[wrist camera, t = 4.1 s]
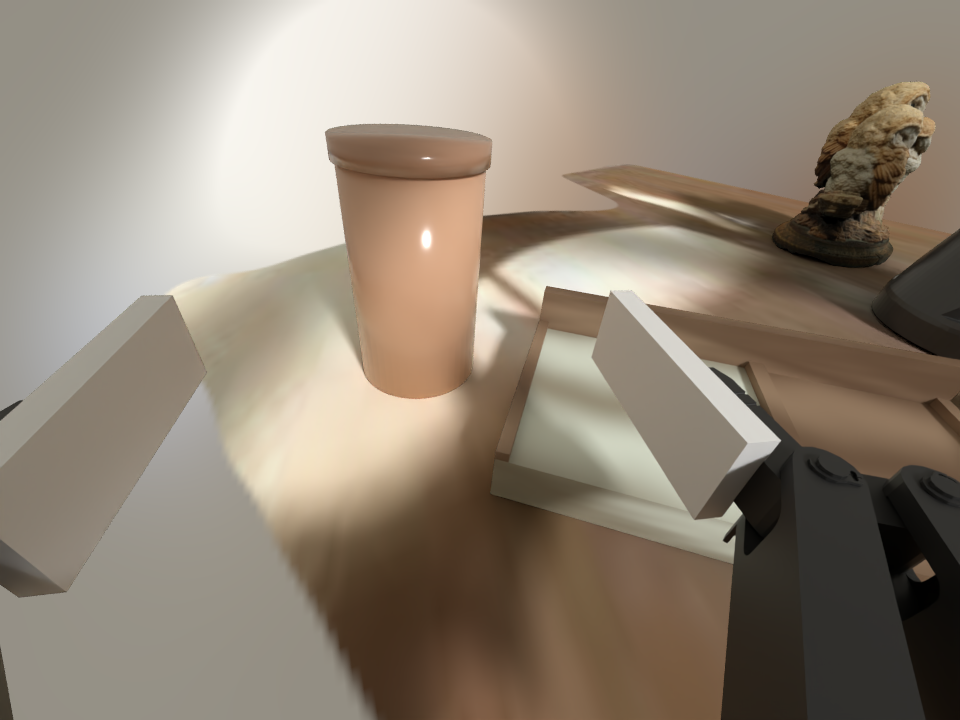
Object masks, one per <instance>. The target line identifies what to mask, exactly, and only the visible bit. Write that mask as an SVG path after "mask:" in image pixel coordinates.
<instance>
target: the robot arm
mask: <svg viewBox="0 0 960 720" xmlns="http://www.w3.org/2000/svg"><path fill="white" fill-rule="evenodd" d="M872 309H873V312H874V313H875V315H876V316H877V317H878V318H879V319H880V320H881V321H882V322H883V323H884V324H885V325H887V326H888V327H889V328H891V329H892V330H893V331H895V332H896V333H898V334H899V335H901V336H903V337H904V338H906V339H908V340H909V341H911V342H913V343H915V344H917V345H918V346H920V347H922V348H924V349H926V350H928V351H930V352H932V353H934V354H937V355H939V356H941V357H946V358H951V359H957V360H960V229H959V230H957V231H956V232H955V233H953V234H952V235H951V236H949V237H948V238H946V239H945V240H944V241H942V242H941V243H940V244H938V245H937V246H936V247H934V248H933V249H932V250H930V251H929V252H928V253H926V254H925V255H924V256H922V257H921V258H920V259H918V260H917V261H916V262H915V263H913V264H912V265H911V266H909V267H908V268H907V269H906V270H904V271H903V272H902V273H901V274H899V275H897V276H895V277H894V278H892V279H891V280H890V281H889V282H888V283H887V284H886V285H885V287H884V288H883V289H882V291H881V292H880V293H879V295H878V296H877V297H876V299H875V300H874V301H873V303H872ZM591 358H592V359H593V361H594V362H595V364H596V366H597V367H598V369H599V370H600V372H601V374H602V375H603V377H604V378H605V380H606V381H607V383H608V385H609V386H610V388H611V389H612V391H613V393H614V394H615V396H616V397H617V399H618V400H619V402H620V404H621V405H622V407H623V408H624V410H625V412H626V413H627V415H628V416H629V418H630V420H631V421H632V423H633V424H634V426H635V427H636V429H637V431H638V432H639V434H640V435H641V437H642V439H643V440H644V442H645V443H646V445H647V447H648V448H649V450H650V451H651V453H652V454H653V456H654V458H655V459H656V461H657V462H658V464H659V466H660V467H661V469H662V470H663V472H664V473H665V475H666V477H667V478H668V480H669V481H670V483H671V485H672V486H673V488H674V489H675V491H676V493H677V494H678V496H679V497H680V499H681V500H682V502H683V504H684V505H685V507H686V508H687V510H688V512H689V513H690V515H691V516H692V518H693V520H700V519H709V518H717V517H722V516H723V515H724V514H725V513H726V511H727V510H728V509H729V507H730V506H731V505H732V503H733V502H734V503H735V504H736V505H737V507H738V508H739V509H740V511H741V512H742V513H743V514H742V515H741V516H740V517H739V519H738V520H737V521H736V522H735V523H734V525H733V526H732V527H731V528H730V530H729V531H728V532H727V533H726V534H725V537H724V539H723V541H724V542H726V543H728V542H729V541H730V540H731V539H732V538H733V536H736V538H735V550H734V563H733V575H732V587H731V600H730V612H729V625H728V637H727V649H726V662H725V674H724V687H723V699H722V711H721V720H960V482H959V481H957V480H956V479H954V478H952V477H950V476H947V475H946V474H944V473H942V472H940V471H936V470H933V469H930V468H927V467H924V466H918V465H908V466H904V467H902V468H901V469H900V470H899V471H898V472H897V473H895V474H894V475H893V476H892V477H891V478H890V479H887V478H882V477H876V476H871V475H866V474H861V473H860V472H859V471H858V470H857V469H856V468H855V467H854V466H852V465H851V464H850V463H848V462H847V461H845V460H844V459H842V458H841V457H839V456H837V455H835V454H833V453H831V452H829V451H826V450H823V449H819V448H816V447H802V446H801V445H800V444H799V443H798V442H797V441H796V440H795V439H794V438H793V437H792V436H791V435H789V434H788V433H787V432H786V431H785V430H784V429H783V428H782V427H781V426H780V425H779V424H778V423H777V422H776V421H775V420H774V419H773V418H772V417H771V416H770V415H769V414H768V413H767V412H766V411H765V410H764V409H763V408H762V407H761V406H760V405H758V406H757V405H756V402H755V401H754V400H753V399H752V398H751V397H750V396H749V395H748V394H745V391H744V390H743V389H742V388H741V387H740V386H739V385H738V384H737V383H736V382H735V381H734V380H733V379H732V378H730V377H728V376H727V375H725V374H724V373H722V372H720V371H719V370H717V369H715V368H714V367H707V366H706V365H705V364H704V363H703V362H702V360H701V359H700V358H699V357H698V356H697V355H696V354H695V353H694V352H693V351H692V350H691V349H690V348H689V347H688V346H687V345H686V344H685V343H684V342H683V341H682V340H681V339H680V338H679V337H678V336H677V335H676V334H675V333H674V332H673V331H672V330H671V329H670V328H669V327H668V326H667V325H666V324H665V323H664V322H663V321H662V320H661V319H660V318H659V317H658V316H657V315H656V314H655V313H654V312H653V311H652V310H651V309H650V308H649V307H648V306H647V305H646V304H645V303H644V302H643V301H642V300H641V299H640V298H639V297H638V296H637V295H636V294H635V293H634V292H633V291H632V290H628V291H610V295H609V298H608V302H607V305H606V309H605V312H604V315H603V319H602V322H601V326H600V329H599V333H598V336H597V339H596V343H595V346H594V350H593V353H592V357H591ZM206 373H207V371H206V369H205V367H204V365H203V362H202V360H201V358H200V356H199V353H198V351H197V349H196V347H195V344H194V342H193V340H192V338H191V336H190V333H189V331H188V329H187V327H186V324H185V322H184V320H183V318H182V315H181V313H180V311H179V309H178V306H177V304H176V302H175V300H174V298H173V295H159V296H158V295H154V296H141V297H140V298H138V299H137V300H136V301H135V302H134V303H133V304H132V305H131V306H129V307H128V308H127V309H126V310H125V311H124V312H123V313H122V314H121V315H119V316H118V317H117V318H116V319H115V320H114V321H113V322H112V323H110V324H109V325H108V326H107V327H106V328H105V329H104V330H103V331H101V332H100V333H99V334H98V335H97V336H96V337H95V338H93V339H92V340H91V341H90V342H89V343H88V344H87V345H85V346H84V347H83V348H82V349H81V350H80V351H79V352H78V353H76V354H75V355H74V356H73V357H72V358H71V359H70V360H69V361H67V362H66V363H65V364H64V365H63V366H62V367H61V368H60V369H59V370H57V371H56V372H55V373H54V374H53V375H52V376H51V377H49V378H48V379H47V380H46V381H45V382H44V383H43V384H42V385H40V386H39V387H38V388H37V389H36V390H35V391H34V392H33V393H31V394H30V395H29V396H28V397H27V398H26V399H25V400H21V401H18V402H16V403H14V404H12V405H11V406H9V407H7V408H5V409H4V410H2V411H0V585H2V586H3V587H5V588H6V589H7V590H9V591H10V592H12V593H13V594H15V595H16V596H17V597H28V596H37V595H45V594H54V593H63V592H67V591H68V589H69V588H70V586H71V585H72V583H73V581H74V580H75V578H76V576H77V575H78V574H79V572H80V570H81V569H82V567H83V566H84V564H85V563H86V561H87V559H88V558H89V556H90V555H91V553H92V552H93V550H94V549H95V547H96V545H97V544H98V542H99V541H100V539H101V538H102V536H103V534H104V533H105V531H106V530H107V528H108V527H109V525H110V523H111V522H112V520H113V519H114V517H115V516H116V514H117V513H118V511H119V509H120V508H121V506H122V505H123V503H124V502H125V500H126V498H127V496H128V495H129V494H130V492H131V491H132V489H133V487H134V486H135V484H136V482H137V481H138V480H139V478H140V476H141V475H142V473H143V472H144V470H145V469H146V467H147V466H148V464H149V462H150V461H151V459H152V458H153V456H154V455H155V453H156V451H157V450H158V448H159V447H160V445H161V444H162V442H163V440H164V439H165V437H166V436H167V434H168V432H169V431H170V429H171V428H172V426H173V425H174V423H175V422H176V420H177V419H178V417H179V415H180V414H181V412H182V411H183V409H184V407H185V406H186V404H187V403H188V401H189V400H190V398H191V397H192V395H193V393H194V392H195V390H196V389H197V387H198V386H199V384H200V383H201V381H202V379H203V378H204V376H205V375H206ZM924 560H927V562H928V563H929V565H930V567H931V568H932V570H933V572H934V573H935V575H934V576H932V577H931V578H929V579H927V580H926V581H923V582H921V581H920V579H919V578H918V577H917V576H916V574H915V572H914V570H913V569H912V568H914V567H915V566H917V565H918V564H920V563H921V562H923V561H924ZM0 720H13V715H12V710H11V704H10V699H9V693H8V687H7V681H6V676H5V670H4V665H3V660H2V654H1V649H0Z"/></svg>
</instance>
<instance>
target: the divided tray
mask: <svg viewBox="0 0 960 720" xmlns="http://www.w3.org/2000/svg"><path fill="white" fill-rule="evenodd" d="M608 298H609V297H605V296H599V295H594V294H588V293H582V292H577V291H571V290H566V289H560V288H555V287H549V286H546V289H545V292H544V298H543V303H542V309H541V315H540V320H539V323H538V326H537V329H536V332H535V335H534V338H533V341H532V344H531V347H530V350H529V353H528V356H527V359H526V362H525V365H524V368H523V371H522V374H521V377H520V380H519V383H518V386H517V389H516V392H515V395H514V398H513V401H512V404H511V407H510V410H509V412H508V415H507V418H506V421H505V424H504V427H503V430H502V433H501V436H500V439H499V442H498V445H497V448H496V451H495V460H494V468H493V476H492V484H491V492H490V494H493V495H496V496H500V497H503V498H507V499H510V500H514V501H517V502H520V503H524V504H527V505H531V506H534V507H538V508H541V509H545V510H548V511H552V512H555V513H558V514H562V515H565V516H569V517H572V518H576V519H579V520H583V521H586V522H590V523H593V524H596V525H600V526H603V527H607V528H610V529H614V530H617V531H621V532H624V533H628V534H631V535H634V536H638V537H641V538H645V539H648V540H652V541H655V542H659V543H662V544H665V545H669V546H672V547H676V548H679V549H683V550H686V551H690V552H693V553H697V554H700V555H703V556H707V557H710V558H714V559H717V560H721V561H724V562H728V563H731V564H733V563H734V550H735V538H736V536H733V538H732V539H731V540H730V541H729V542H728V543H726V542H724V541H723V539H724V537H725V534H726V533H727V532H728V531H729V530H730V528H731V527H732V526H733V525H734V523H735V522H736V521H737V520H738V519H739V517H740V516H741V515H742V514H743V513H742V512H741V511H740V509H739V508H738V507H737V505H736V504H735V503H734V502H733V503H732V505H731V506H730V507H729V509H728V510H727V511H726V513H725V514H724V515H723V516H722V517H717V518H709V519H700V520H693V518H692V516H691V515H690V513H689V512H688V510H687V508H686V507H685V505H684V504H683V502H682V500H681V499H680V497H679V496H678V494H677V493H676V491H675V489H674V488H673V486H672V485H671V483H670V481H669V480H668V478H667V477H666V475H665V473H664V472H663V470H662V469H661V467H660V466H659V464H658V462H657V461H656V459H655V458H654V456H653V454H652V453H651V451H650V450H649V448H648V447H647V445H646V443H645V442H644V440H643V439H642V437H641V435H640V434H639V432H638V431H637V429H636V427H635V426H634V424H633V423H632V421H631V420H630V418H629V416H628V415H627V413H626V412H625V410H624V408H623V407H622V405H621V404H620V402H619V400H618V399H617V397H616V396H615V394H614V393H613V391H612V389H611V388H610V386H609V385H608V383H607V381H606V380H605V378H604V377H603V375H602V374H601V372H600V370H599V369H598V367H597V366H596V364H595V362H594V361H593V359H592V358H591V357H592V353H593V350H594V346H595V343H596V339H597V336H598V333H599V329H600V326H601V322H602V319H603V315H604V312H605V309H606V305H607V302H608ZM646 305H647V306H648V307H649V308H650V309H651V310H652V311H653V312H654V313H655V314H656V315H657V316H658V317H659V318H660V319H661V320H662V321H663V322H664V323H665V324H666V325H667V326H668V327H669V328H670V329H671V330H672V331H673V332H674V333H675V334H676V335H677V336H678V337H679V338H680V339H681V340H682V341H683V342H684V343H685V344H686V345H687V346H688V347H689V348H690V349H691V350H692V351H693V352H694V353H695V354H696V355H697V356H698V357H699V358H700V359H701V360H702V362H703V363H704V364H705V365H706V366H707V367H714V368H715V369H717V370H719V371H720V372H722V373H724V374H725V375H727V376H728V377H730V378H732V379H733V380H734V381H735V382H736V383H737V384H738V385H739V386H740V387H741V388H742V389H743V390H744V391H745V394H748V395H749V396H750V397H751V398H752V399H753V400H754V401H755V402H756V405H757V406H758V405H760V406H761V407H762V408H763V409H764V410H765V411H766V412H767V413H768V414H769V415H770V416H771V417H772V418H773V419H774V420H775V421H776V422H777V423H778V424H779V425H780V426H781V427H782V428H783V429H784V430H785V431H786V432H787V433H788V434H789V435H791V436H792V437H793V438H794V439H795V440H796V441H797V442H798V443H799V444H800V445H801V446H802V447H816V448H819V449H823V450H826V451H829V452H831V453H833V454H835V455H837V456H839V457H841V458H842V459H844V460H845V461H847V462H848V463H850V464H851V465H852V466H854V467H855V468H856V469H857V470H858V471H859V472H860V473H861V474H866V475H871V476H876V477H882V478H887V479H890V478H891V477H892V476H893V475H894V474H895V473H897V472H898V471H899V470H900V469H901V468H902V467H904V466H908V465H918V466H924V467H927V468H930V469H933V470H936V471H940V472H942V473H944V474H946V475H947V476H950V477H952V478H954V479H956V480H957V481H959V482H960V410H959V409H958V408H957V407H956V406H955V405H954V404H953V403H952V402H951V401H950V400H951V399H952V398H953V397H954V396H956V395H957V394H958V393H959V392H960V360H957V359H951V358H946V357H940V356H935V355H929V354H923V353H918V352H912V351H907V350H901V349H895V348H890V347H884V346H879V345H873V344H867V343H862V342H856V341H851V340H845V339H840V338H834V337H828V336H823V335H817V334H812V333H806V332H800V331H795V330H789V329H784V328H778V327H772V326H767V325H761V324H756V323H750V322H745V321H739V320H733V319H728V318H722V317H717V316H711V315H705V314H700V313H694V312H689V311H683V310H677V309H672V308H666V307H661V306H655V305H650V304H646ZM912 569H913V570H914V572H915V574H916V576H917V577H918V578H919V579H920V581H921V582H923V581H926V580H927V579H929V578H931V577H932V576H934V575H935V573H934V572H933V570H932V568H931V567H930V565H929V563H928V562H927V560H924V561H923V562H921V563H920V564H918V565H917V566H915V567H914V568H912Z"/></svg>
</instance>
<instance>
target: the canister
mask: <svg viewBox="0 0 960 720" xmlns="http://www.w3.org/2000/svg"><path fill="white" fill-rule="evenodd" d="M325 135H326V142H327V149H328V155H329V160H330V162H332V163H333V164H335V170H336V178H337V185H338V192H339V199H340V206H341V212H342V220H343V226H344V234H345V241H346V248H347V255H348V262H349V269H350V276H351V283H352V290H353V297H354V304H355V311H356V318H357V325H358V333H359V340H360V347H361V354H362V361H363V368H364V373H365V376H366V378H367V379H368V381H369V382H370V383H371V384H372V385H373V386H374V387H376V388H377V389H379V390H381V391H382V392H385V393H387V394H390V395H393V396H397V397H401V398H410V399H421V398H430V397H436V396H440V395H443V394H446V393H448V392H450V391H452V390H454V389H456V388H458V387H459V386H460V385H462V384H463V383H464V382H465V381H466V380H467V379H468V377H469V375H470V373H471V371H472V366H473V352H474V337H475V323H476V308H477V293H478V279H479V264H480V250H481V235H482V220H483V206H484V191H485V176H486V170H488V169H489V168H490V165H491V152H492V140H491V139H490V138H488V137H486V136H483V135H480V134H476V133H472V132H468V131H462V130H456V129H450V128H442V127H432V126H420V125H404V124H359V125H347V126H340V127H334V128H331V129H328V130H327V131H326V132H325Z"/></svg>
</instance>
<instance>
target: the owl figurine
mask: <svg viewBox="0 0 960 720" xmlns="http://www.w3.org/2000/svg"><path fill="white" fill-rule="evenodd" d="M929 88H930V87H929V86H928V85H927V84H925V83H922V82H910V83H909V82H904V83H902V82H901V83H898V84H895V85H892V86H890V87H885V88H883V89H881V90H879V91H877V92H875V93H872V94H871V95H870V96H869V97H868V98H867V99H866V100H865V101H864V102H862V103H861V104H859V106H857V107H856V108H855V110H854V112H853V113H852V114H851V116H850V117H849V118H848V119H846V120H842V121H840V122H839V123H838V124H837V125H835V127H833V129H832V130H831V132H830V133H829V135H828V137H827V140H826V143H825V145H824V146H823V147H822V151H821V156H820V157H819V159H818V162H817V163H818V164H817V167H816V168H815V175H816V176H818V179H817V182H815V183H814V185H815V186H816V187H818V188H819V189H820V188H823V187H825V189H824V190H820V191H819V193H818V194H817V195H816V196H815V197H814V198H812V199H811V201H810V202H809V206H808V207H805V208H803V210H802V211H801V213H800V214H798V215H797V216H795V218H793V219H792V220H790V221H788V222H785V223H782V224H781V225H779V226H778V227H777V228H776V230H775V231H774V233H773V236H772V239H773V242H774V243H775V244H776V245H777V246H778V247H780V248H782V249H785V248H786V249H788V251H789V252H790V251H791V253H792V254H793V253H795V252H797V253H798V254H804V255H809V256H812V257H816V258H818V259H820V260H822V261H825V262H827V263H830V264H832V265H838V266H843V267H854V268H856V267H864V266H867V265H869V266H872V265H875V263H876V264H877V265H879V264H881V263H883V262H885V261H886V260H887V259H888V258H889V256H890V255H891V254H892V252H893V247H892V245H891V244H890V243H889V231H888V230H887V229H888V228H889V227H887V226H884V225H882V216H883V212H884V206H886V203H887V202H888V200H889V197H890V195H891V194H892V193H893V192H894V190H895V189H896V188H897V187H898V185H899V184H900V183H901V182H902V181H903V180H904V179H905V178H906V176H907V175H908V174H909V173H911V172H913V171H915V170H916V169H917V168H918V166H919V165H920V162H921V154H922V153H923V152H925V151H926V150H927V148H928V147H929V145H930V143H931V136H932V134H933V132H934V130H935V123H934V121H933V120H931V119H929V118H927V117H924V115H923V111H924V109H925V107H926V105H927V103H928V101H929V100H930V90H929ZM874 253H875V254H877V255H878V256H879V257H880V258H879V257H877V255H875V254H874Z"/></svg>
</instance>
